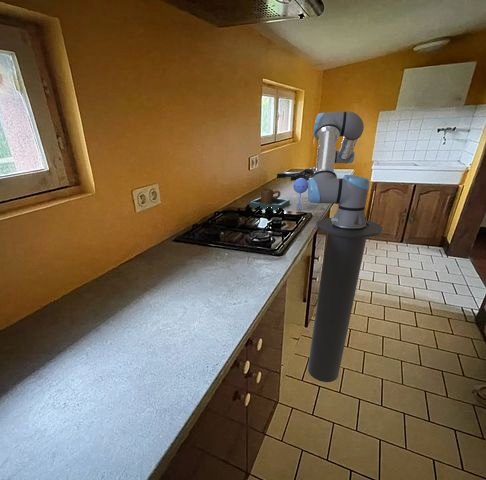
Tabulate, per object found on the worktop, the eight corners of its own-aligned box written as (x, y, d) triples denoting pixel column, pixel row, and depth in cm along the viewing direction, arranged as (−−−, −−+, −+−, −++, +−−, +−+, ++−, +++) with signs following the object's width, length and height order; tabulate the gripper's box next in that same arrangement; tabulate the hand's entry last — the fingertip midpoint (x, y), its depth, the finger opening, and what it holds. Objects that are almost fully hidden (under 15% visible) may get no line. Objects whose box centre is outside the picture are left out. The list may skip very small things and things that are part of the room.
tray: (289, 204, 194) (289, 199, 192) (278, 210, 181) (279, 205, 179) (261, 201, 204) (261, 196, 202) (249, 207, 191) (249, 202, 189)
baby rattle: (288, 208, 183) (290, 177, 175) (300, 207, 186) (303, 176, 178) (296, 211, 176) (299, 179, 168) (309, 210, 178) (312, 178, 171)
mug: (280, 203, 193) (281, 188, 189) (279, 206, 187) (280, 191, 183) (261, 203, 196) (261, 188, 192) (259, 206, 190) (260, 190, 185)
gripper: (297, 166, 206) (272, 169, 197) (325, 170, 185) (298, 172, 177) (296, 178, 209) (271, 181, 201) (323, 182, 188) (296, 186, 180)
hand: (283, 177), depth 189 cm, fingers open, 13 cm apart
